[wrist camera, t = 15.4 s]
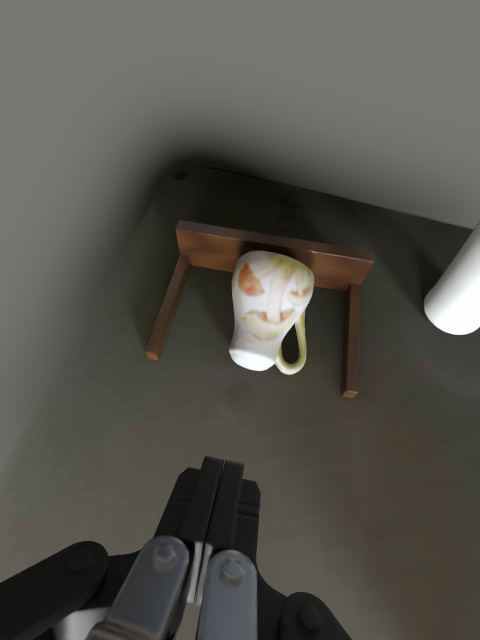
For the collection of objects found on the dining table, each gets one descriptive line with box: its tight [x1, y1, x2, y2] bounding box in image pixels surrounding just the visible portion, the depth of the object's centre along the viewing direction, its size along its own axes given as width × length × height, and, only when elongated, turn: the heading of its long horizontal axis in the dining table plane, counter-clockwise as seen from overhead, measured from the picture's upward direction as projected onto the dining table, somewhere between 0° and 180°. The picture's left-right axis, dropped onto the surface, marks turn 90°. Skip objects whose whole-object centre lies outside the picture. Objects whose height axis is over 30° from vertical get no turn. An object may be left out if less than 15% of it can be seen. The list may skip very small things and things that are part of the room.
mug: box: [229, 251, 314, 375], centre depth 30 cm, size 8×10×10 cm
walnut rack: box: [145, 220, 374, 398], centre depth 30 cm, size 18×12×5 cm
